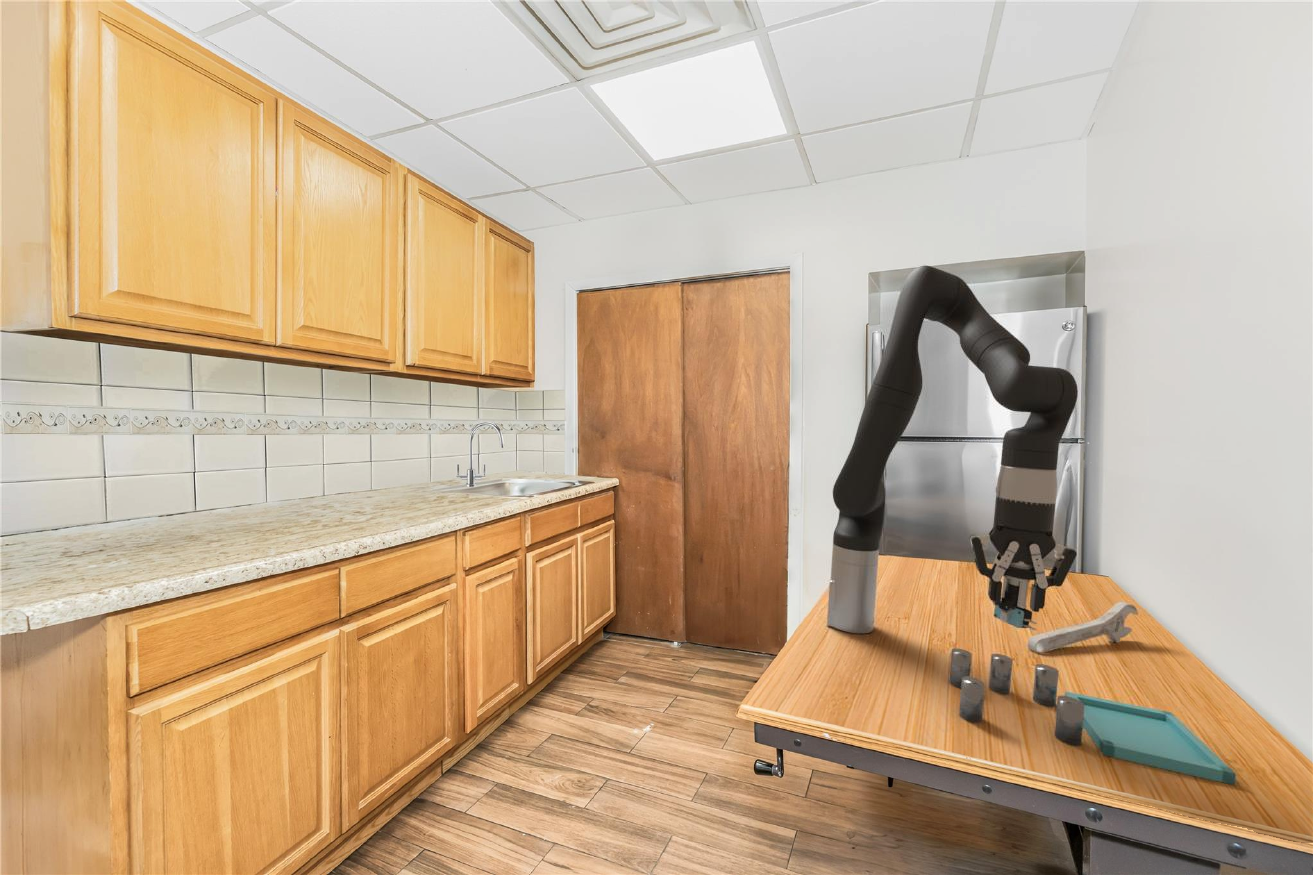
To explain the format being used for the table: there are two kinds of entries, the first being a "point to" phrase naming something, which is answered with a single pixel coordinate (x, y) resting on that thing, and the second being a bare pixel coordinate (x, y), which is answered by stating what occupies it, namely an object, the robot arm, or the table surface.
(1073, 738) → the standoff cluster
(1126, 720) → the tray
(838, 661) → the table surface
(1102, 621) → the wrench
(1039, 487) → the robot arm
